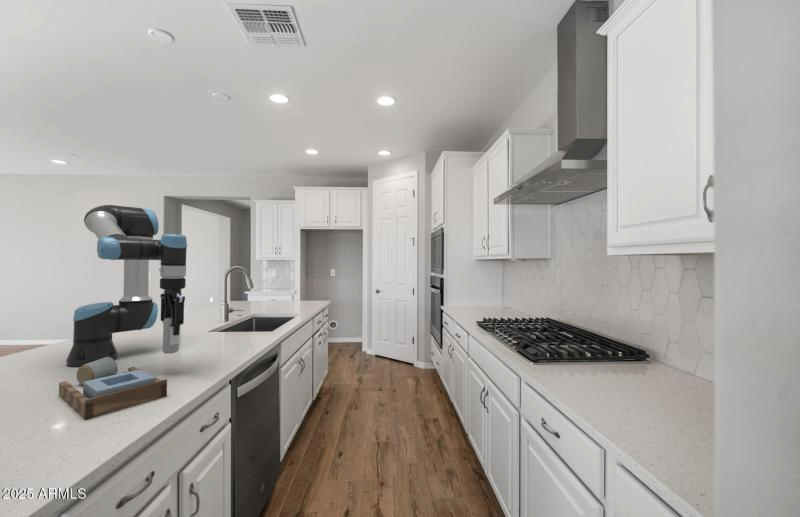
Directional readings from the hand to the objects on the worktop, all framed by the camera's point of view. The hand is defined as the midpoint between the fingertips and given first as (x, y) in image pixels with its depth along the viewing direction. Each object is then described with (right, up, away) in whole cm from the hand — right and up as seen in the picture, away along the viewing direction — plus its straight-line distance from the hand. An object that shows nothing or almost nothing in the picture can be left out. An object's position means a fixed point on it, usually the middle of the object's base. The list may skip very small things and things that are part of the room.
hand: (171, 342), depth 117 cm
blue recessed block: (+1, -11, -22) cm, 25 cm away
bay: (-4, -12, -19) cm, 23 cm away
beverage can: (0, -4, 0) cm, 4 cm away
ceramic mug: (-20, -12, -6) cm, 24 cm away
